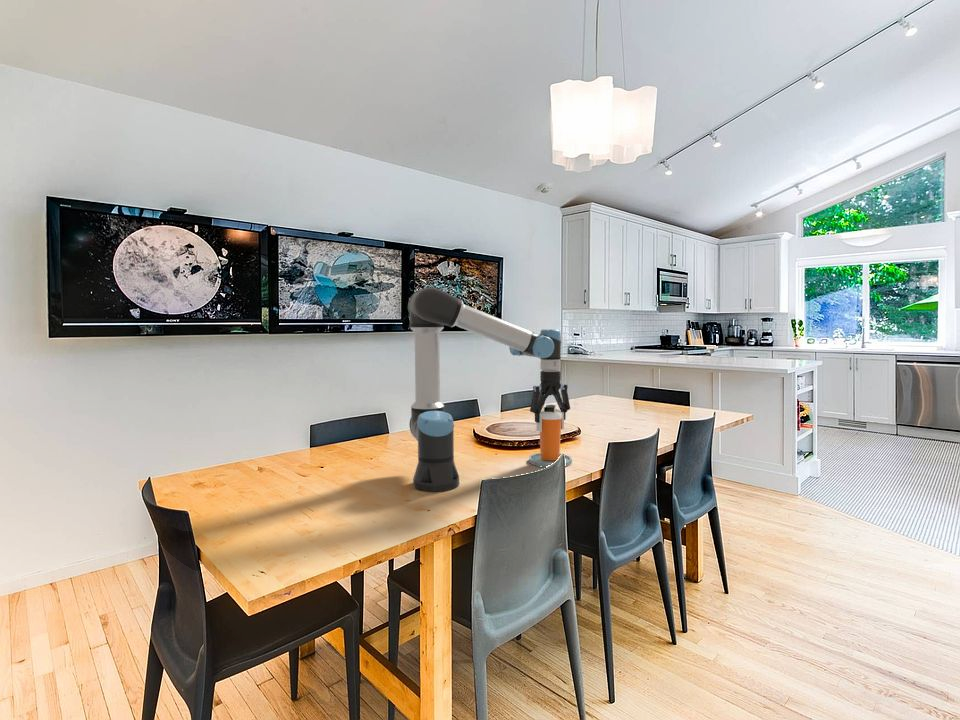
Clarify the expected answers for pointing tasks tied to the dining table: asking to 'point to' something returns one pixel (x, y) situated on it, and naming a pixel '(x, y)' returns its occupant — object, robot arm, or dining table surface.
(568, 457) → the saucer
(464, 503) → the dining table surface
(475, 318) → the robot arm
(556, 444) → the shaker bottle
